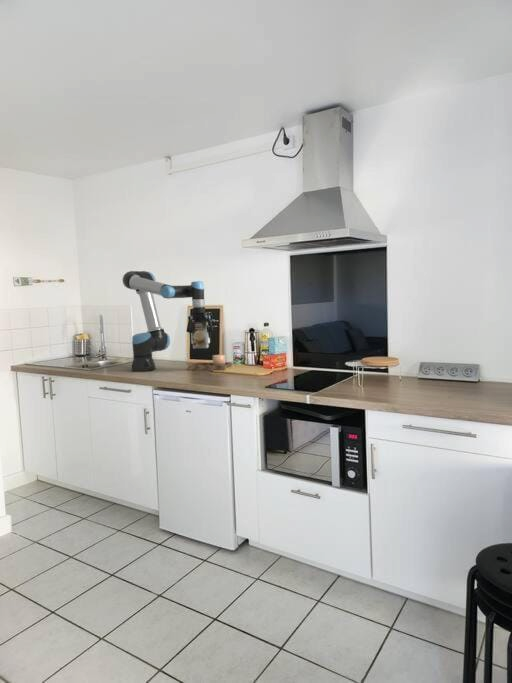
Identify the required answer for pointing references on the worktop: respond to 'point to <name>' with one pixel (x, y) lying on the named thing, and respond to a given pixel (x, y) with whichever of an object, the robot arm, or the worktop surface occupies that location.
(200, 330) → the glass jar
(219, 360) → the light brown rounded block
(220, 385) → the worktop surface
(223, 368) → the caddy
